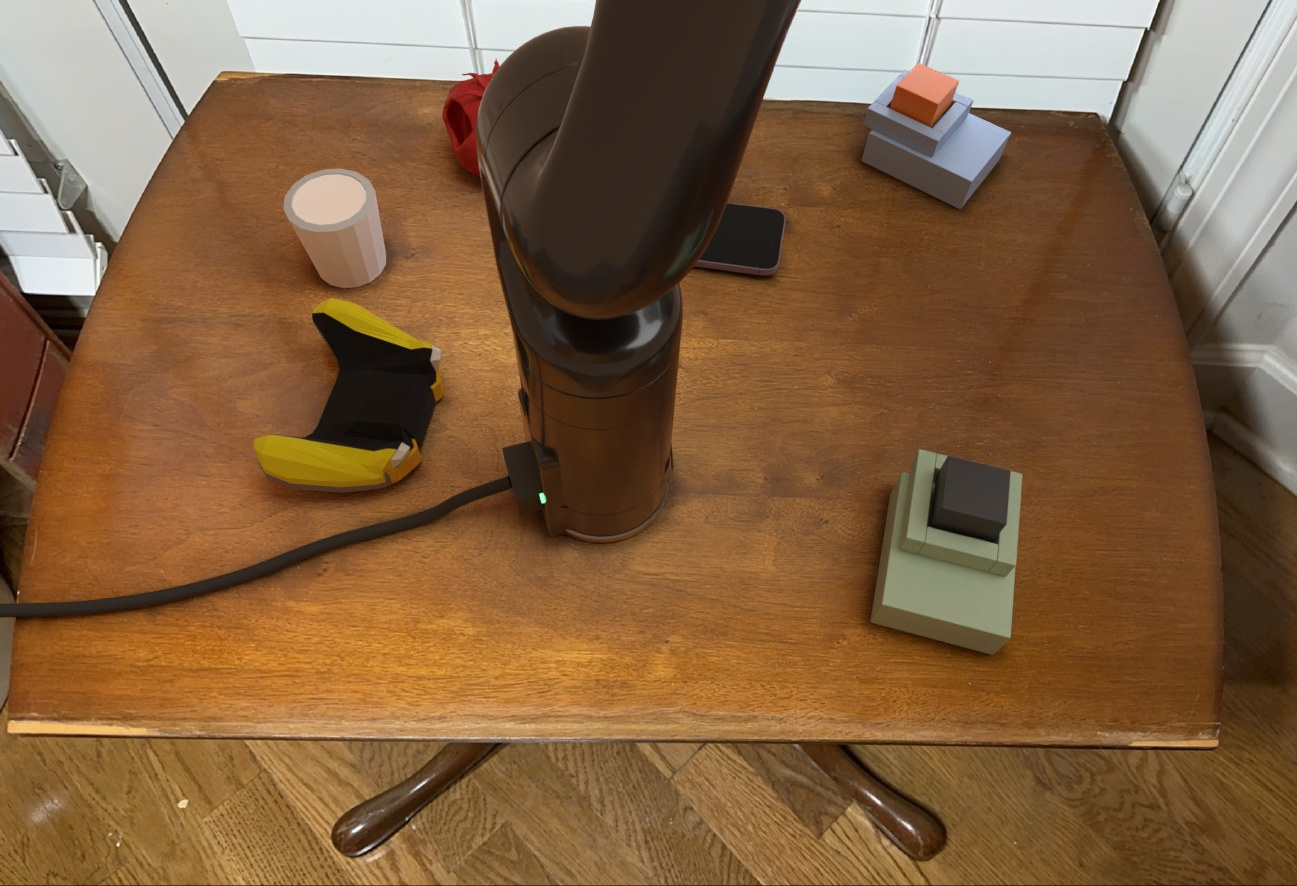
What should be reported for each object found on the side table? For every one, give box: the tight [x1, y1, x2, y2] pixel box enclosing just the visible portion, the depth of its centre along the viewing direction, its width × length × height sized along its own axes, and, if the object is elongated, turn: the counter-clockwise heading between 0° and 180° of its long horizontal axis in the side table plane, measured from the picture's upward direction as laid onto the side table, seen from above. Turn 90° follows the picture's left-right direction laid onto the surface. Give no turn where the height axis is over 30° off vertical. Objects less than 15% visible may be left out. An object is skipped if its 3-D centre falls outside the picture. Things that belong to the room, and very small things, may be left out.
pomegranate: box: [441, 58, 500, 177], centre depth 79 cm, size 10×10×9 cm
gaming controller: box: [253, 297, 444, 493], centre depth 65 cm, size 15×6×10 cm
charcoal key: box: [930, 455, 1012, 542], centre depth 58 cm, size 4×4×2 cm
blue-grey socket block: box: [861, 69, 1012, 210], centre depth 82 cm, size 11×8×5 cm
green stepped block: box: [869, 448, 1023, 656], centre depth 60 cm, size 11×8×5 cm
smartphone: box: [694, 202, 786, 277], centre depth 78 cm, size 7×1×15 cm
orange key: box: [890, 62, 960, 127], centre depth 80 cm, size 4×4×3 cm
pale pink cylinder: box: [283, 167, 387, 289], centre depth 72 cm, size 7×7×7 cm
